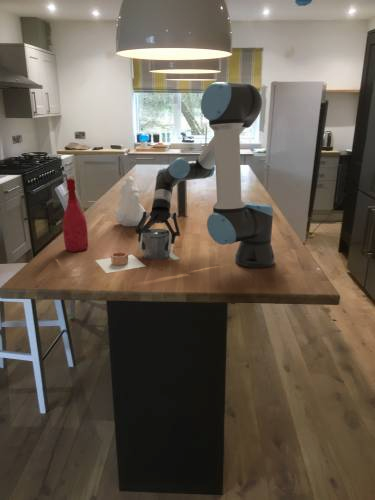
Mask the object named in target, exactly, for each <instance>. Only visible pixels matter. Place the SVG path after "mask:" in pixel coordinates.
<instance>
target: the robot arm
mask: <svg viewBox="0 0 375 500" xmlns="http://www.w3.org/2000/svg"><path fill="white" fill-rule="evenodd" d="M262 106H263V100H262V94H261V93H260V91H259V89H257V87H256V86H255V85H252V84H250V83H245V82H243V83H242V82H232V81H231V82H230V81H229V82H228V81H217V82H213V83H211V84H209V85H208V86H207V87H206V89H205V91H204V92H203V94H202V97H201V101H200V110H201V113H202V115H203V117H204V118H205V120H208V126H209V128H210V129H211V130H212V131H213V137H212V138H211V140H210V141H209V142H208V143H207V145H206V146H205V147H204V149H202V151H201V153H200V154H199V156H198V157H197V158H196V160H192V161H188V160H186V159H183V158H182V157H178V158H176V159H175V160H173V161H172V162H171V163H170V164H169V165H168V166H167V167H166V168H161V169H159V170H158V172H157V175H156V178H155V187H154V193H153V197H152V198H153V199H152V205H151V211H150V212H143V217H142V219H141V220H140V222H139V224H138V226H135V229H134V231H135V235H138V237H137V241H138V243H139V246H138V249H139V251H140V252H143V232H144V231H145V230H149V229H151V227H152V226H154V224H165V225H166V227H167V230H168V231H169V233H170V237H169V245H168V251H169V252H171V253H172V247H173V246H172V245H174V244H175V242H176V237H181V233H180V229H179V225H178V221H177V219H178V216H177V212H173V213H171V207H172V205H171V204H172V198H173V192H174V190H173V189H174V188H175V186H177V185H178V184H179V183H180V182H182V181H184V182H185V181H192V180H199V179H200V180H201V179H203V180H204V179H207V178H210V177H212V176H214V173H215V180H216V181H215V182H216V183H215V185H216V202H215V204H213V206H212V213H211V214H209V216H208V218H207V220H206V228H207V231H208V234H209V236H210V238H211V239H212V240H213V241H214V242H215V243H217V244H218V245H223V246H224V245H233V244H235V243H238V242H239V244H238V247H237V250H236V253H235V255H234V262H235V263H236V264H237V265H238V266H241V267H244V268H251V269H263V268H270V267H272V266H273V265H274V264H275V254H274V251H273V250H274V249H273V245H272V234H273V233H272V232H273V220H274V214H273V212H274V210H273V209H274V208H273V207H272V205H271V204H267V203H261V202H255V201H254V202H253V201H243V200H242V179H241V178H242V175H241V144H240V143H241V142H240V141H241V140H240V136H241V134H242V133H244V130H245V129H249V128H250V127H252V125H253V124H254V123H255V122H256V121H257V118H258V117H259V116H260V113H261V111H262ZM149 217H150V218H149ZM148 218H149V220H148ZM170 218H171V220H173V224H174V228H175V230H174V229H173V227H172V225H171V223H170V221H169V219H170ZM147 220H148V221H147Z"/></svg>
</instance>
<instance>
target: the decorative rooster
mask: <svg viewBox="0 0 375 500" xmlns="http://www.w3.org/2000/svg"><path fill="white" fill-rule="evenodd" d="M140 201H141V195H140V190H139V186H138V185H137V183H136V182H135V179H134V178H133V176H131V175H130V176H127V177H126V178H125V181H124V182H123V183H122V185H121V189H120V200H119V203H118V206H119V207H118V208H117V209H116V211H115V220H116V222H117V223H118V224H120V225H122V226H123V227H130V226H131V227H133V226H134V227H137V226H138V224H139V222H140V220H141V219H142V217H143V212H146V210H145V208H144V207H143V205H142V204H141V202H140ZM146 213H147V212H146Z"/></svg>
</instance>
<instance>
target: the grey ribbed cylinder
mask: <svg viewBox="0 0 375 500" xmlns="http://www.w3.org/2000/svg"><path fill="white" fill-rule="evenodd" d="M170 234H171V233H170V231H169V229H165V228H164V229H163V228H149V229H148V230H145V231H144V232H143V250H142V254H143V255H142V256H143V258H145V259H147V260H151V261H157V260H158V261H161V260H165V259H168V258H170V252H169V251H168V245H169V237H170Z"/></svg>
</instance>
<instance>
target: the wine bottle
mask: <svg viewBox="0 0 375 500" xmlns="http://www.w3.org/2000/svg"><path fill="white" fill-rule="evenodd" d="M66 185H67V186H66V187H67V188H66V189H67V193H68V195H67V196H68V197H67V198H68V199H67V205H66V207H65V211H64V214H63V218H62V233H63V241H64V247H65V250H66V251H68V252H70V253H71V252H72V253H73V252H75V253H76V252H77V253H78V252H82V251H83V252H84V251H85V250H86V249H88V247H89V238H88V236H89V235H88V226H87V225H88V223H87V220H86V217H85V214H84V212H83V210H82V209H81V207H80V205H79V201H78V199H77V196H76V189H77V188H76V180H75V179H74V178H67V179H66Z"/></svg>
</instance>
